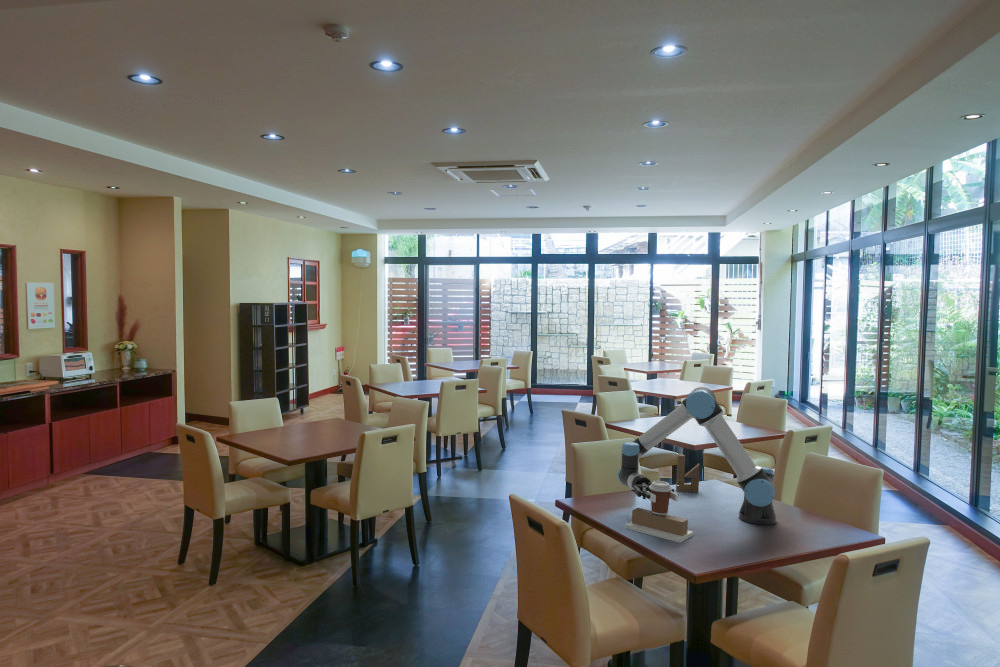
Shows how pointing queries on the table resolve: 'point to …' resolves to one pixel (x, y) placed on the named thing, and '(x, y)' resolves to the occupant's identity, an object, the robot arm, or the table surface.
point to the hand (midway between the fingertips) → (665, 498)
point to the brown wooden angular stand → (687, 476)
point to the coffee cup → (660, 497)
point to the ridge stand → (659, 525)
